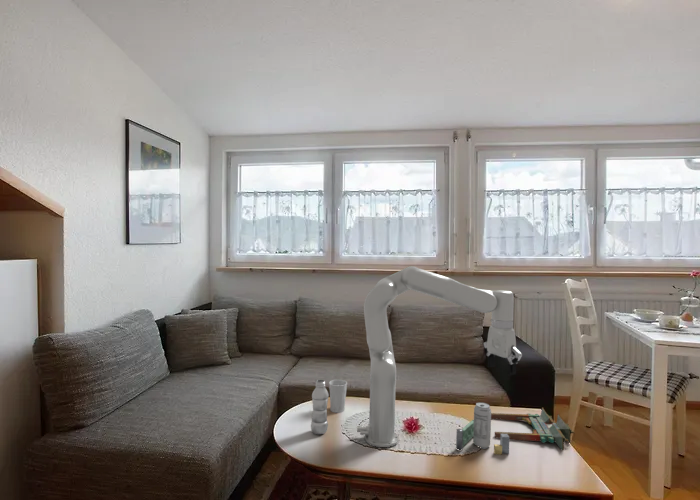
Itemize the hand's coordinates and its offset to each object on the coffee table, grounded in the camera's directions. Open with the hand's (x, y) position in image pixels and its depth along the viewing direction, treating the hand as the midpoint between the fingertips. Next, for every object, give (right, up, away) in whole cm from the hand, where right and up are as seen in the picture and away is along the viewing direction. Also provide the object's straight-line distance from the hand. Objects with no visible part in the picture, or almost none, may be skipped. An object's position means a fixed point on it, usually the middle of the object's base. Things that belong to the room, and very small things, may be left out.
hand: (501, 370), depth 146 cm
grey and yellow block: (-2, -28, -4) cm, 28 cm away
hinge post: (-16, -28, -3) cm, 32 cm away
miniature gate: (+17, -29, +13) cm, 36 cm away
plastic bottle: (-68, -27, +8) cm, 73 cm away
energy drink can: (-7, -28, +1) cm, 29 cm away
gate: (-11, -27, +4) cm, 30 cm away
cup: (-61, -26, +29) cm, 73 cm away
